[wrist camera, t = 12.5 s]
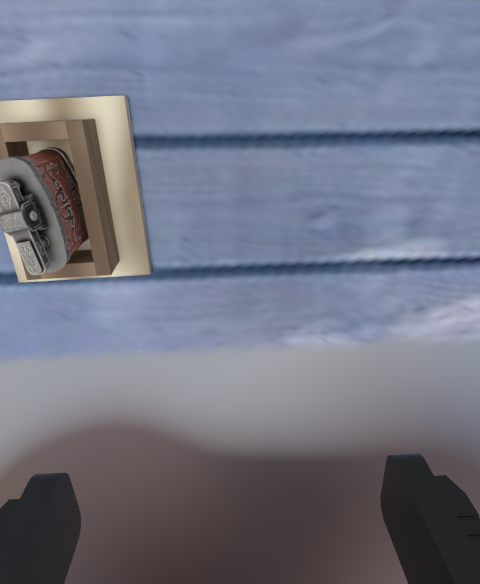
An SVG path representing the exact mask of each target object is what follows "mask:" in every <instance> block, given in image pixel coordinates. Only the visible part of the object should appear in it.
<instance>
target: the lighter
mask: <svg viewBox="0 0 480 584" xmlns="http://www.w3.org/2000/svg"><path fill="white" fill-rule="evenodd" d="M0 226H1V229H2V230H3V231H4V232H5V233H7V234H8V235H10V236H12V238H13V240H14V242H15V244H16V246H17V248H18V251H19V253H20V255H21V257H22V259H23V262H24V264H25V266H26V268H27V270H28V272H29V273H30V274H32V275H39V274H42V273H44V272H46V273H53V272H57V271H59V270H61V269H62V268H63V267H64V266H65V265H66V264H67V263H68V261H69V259H70V256H71V255H72V254H73V253H74V252H75V251H76V250H77V249H78V247H79V246H80V245H81V244H83V243H85V242H87V241H88V240H89V236H88V231H87V227H86V222H85V217H84V212H83V207H82V202H81V198H80V193H79V188H78V183H77V178H76V173H75V168H74V165H73V164H72V162H71V160H70V158H69V157H68V155H67V154H66V153H65V151H63V150H61V149H60V148H56V147H47V148H43V149H41V150H39V151H38V152H37V153H34V154H30V155H26V156H23V157H18V156H15V157H7V158H4V159H2V160H0Z"/></svg>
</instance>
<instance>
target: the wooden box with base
mask: <svg viewBox="0 0 480 584" xmlns="http://www.w3.org/2000/svg"><path fill="white" fill-rule="evenodd" d="M47 147H56V148H60V149H61V150H63V151H65V153H66V154H67V155H68V157H69V158H70V160H71V162H72V164H73V165H74V168H75V173H76V178H77V183H78V188H79V193H80V198H81V202H82V207H83V212H84V217H85V222H86V227H87V231H88V236H89V240H88V241H87V242H85V243H83V244H81V245H80V246H79V247H78V249H77V250H76V251H75V252H74V253H73V254H72V255H71V256H70V259H69V261H68V263H67V264H66V265H65V266H64V267H63V268H62V269H61V270H59V271H57V272H53V273H46V272H44V273H42V274H39V275H32V274H30V273H29V272H28V270H27V268H26V266H25V264H24V262H23V259H22V257H21V255H20V253H19V251H18V248H17V246H16V244H15V242H14V240H13V238H12V236H10V235H8V234H7V233H5V232H4V233H5V236H6V239H7V243H8V246H9V250H10V253H11V256H12V260H13V263H14V267H15V270H16V273H17V277H18V280H19V282H35V281H51V280H67V279H83V278H100V277H116V276H132V275H148V274H151V271H152V265H151V258H150V251H149V244H148V237H147V230H146V223H145V216H144V209H143V202H142V196H141V189H140V182H139V175H138V168H137V161H136V154H135V147H134V140H133V133H132V126H131V119H130V112H129V105H128V98H127V96H125V95H123V96H101V97H79V98H57V99H36V100H14V101H0V160H2V159H4V158H7V157H15V156H18V157H23V156H26V155H30V154H34V153H37V152H38V151H39V150H41V149H43V148H47Z"/></svg>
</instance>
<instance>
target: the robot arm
mask: <svg viewBox="0 0 480 584" xmlns="http://www.w3.org/2000/svg"><path fill="white" fill-rule="evenodd" d="M380 499H381V500H380V501H381V510H382V515H383V519H384V522H385V524H386V527H387V530H388V532H389V535H390V537H391V540H392V543H393V545H394V548H395V551H396V553H397V556H398V558H399V561H400V564H401V566H402V569H403V571H404V574H405V576H406V579H407V582H408V584H480V518H479V514H478V513H477V511H476V509H475V508H474V506H473V505H472V503H471V502H470V500H469V498H468V497H467V495H466V494H465V492H463V491H462V490H461V489H460V488H459V487H458V486H457V485H456V484H455V483H453V482H452V481H451V480H450V479H449V478H448V477H447V476H446V475H443V476H434V475H433V473H432V472H431V470H430V468H429V466H428V465H427V463H426V461H425V459H424V458H423V457H422V456H421V455H420V454H401V455H389V456H388V457H387V460H386V465H385V471H384V478H383V484H382V490H381V497H380ZM80 528H81V514H80V510H79V506H78V503H77V500H76V496H75V493H74V490H73V486H72V483H71V480H70V477H69V475H68V474H67V473H51V474H36V475H34V476H33V477H31V479H30V481H29V482H28V484H27V486H26V488H25V490H24V492H23V494H22V496H21V498H20V499H14V500H13V499H12V500H8V501H7V502H6V503H5V504H4V505H3V506H2V507H1V509H0V584H64V582H65V579H66V576H67V573H68V570H69V567H70V564H71V561H72V558H73V555H74V552H75V549H76V546H77V542H78V539H79V534H80Z"/></svg>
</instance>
